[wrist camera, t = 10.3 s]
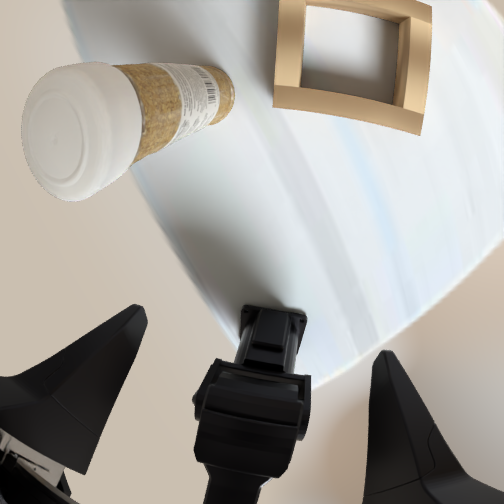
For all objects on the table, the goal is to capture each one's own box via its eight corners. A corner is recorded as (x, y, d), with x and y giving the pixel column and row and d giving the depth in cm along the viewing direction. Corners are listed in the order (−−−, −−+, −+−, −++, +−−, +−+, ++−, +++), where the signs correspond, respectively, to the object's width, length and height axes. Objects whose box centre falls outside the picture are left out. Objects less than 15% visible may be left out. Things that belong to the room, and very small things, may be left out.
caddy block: (407, 129, 15) (420, 135, 13) (277, 104, 16) (272, 107, 14) (418, 13, 10) (431, 6, 8) (284, -13, 11) (280, -26, 9)
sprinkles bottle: (171, 74, 16) (7, 101, 5) (232, 60, 15) (88, 38, 4) (182, 131, 19) (39, 213, 8) (242, 121, 18) (124, 197, 7)
